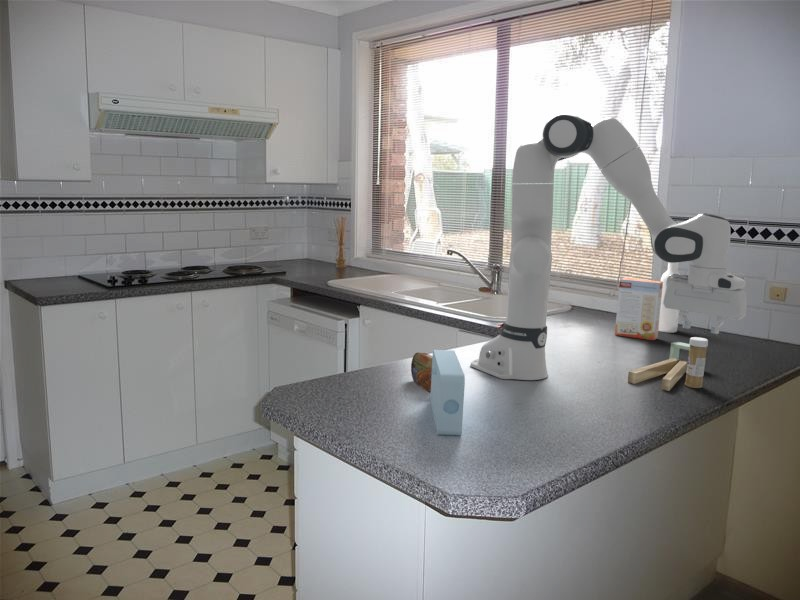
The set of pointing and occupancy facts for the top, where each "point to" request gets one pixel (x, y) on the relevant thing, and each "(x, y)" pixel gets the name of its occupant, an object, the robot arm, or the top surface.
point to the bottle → (667, 315)
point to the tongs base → (652, 370)
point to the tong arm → (674, 375)
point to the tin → (422, 370)
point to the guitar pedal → (447, 392)
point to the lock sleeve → (677, 349)
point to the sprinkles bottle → (696, 362)
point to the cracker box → (638, 308)
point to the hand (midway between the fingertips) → (700, 330)
